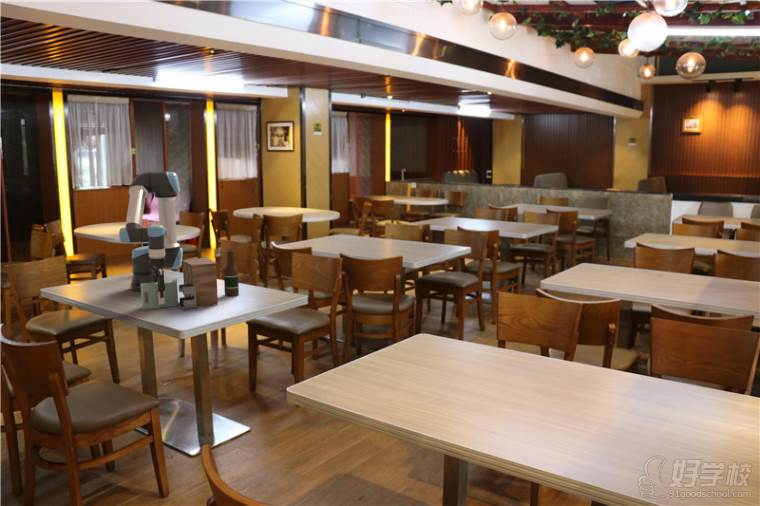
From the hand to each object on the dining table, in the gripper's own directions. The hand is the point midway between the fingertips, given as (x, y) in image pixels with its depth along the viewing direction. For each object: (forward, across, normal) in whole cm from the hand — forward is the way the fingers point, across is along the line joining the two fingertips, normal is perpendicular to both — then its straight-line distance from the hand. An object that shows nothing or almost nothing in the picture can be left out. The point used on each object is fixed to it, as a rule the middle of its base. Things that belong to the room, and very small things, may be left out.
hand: (159, 302), depth 318 cm
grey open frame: (+2, +11, +11) cm, 16 cm away
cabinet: (+2, +2, +20) cm, 20 cm away
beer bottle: (+2, -6, +39) cm, 40 cm away
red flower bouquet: (+2, -81, +11) cm, 82 cm away
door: (+2, 0, 0) cm, 2 cm away
